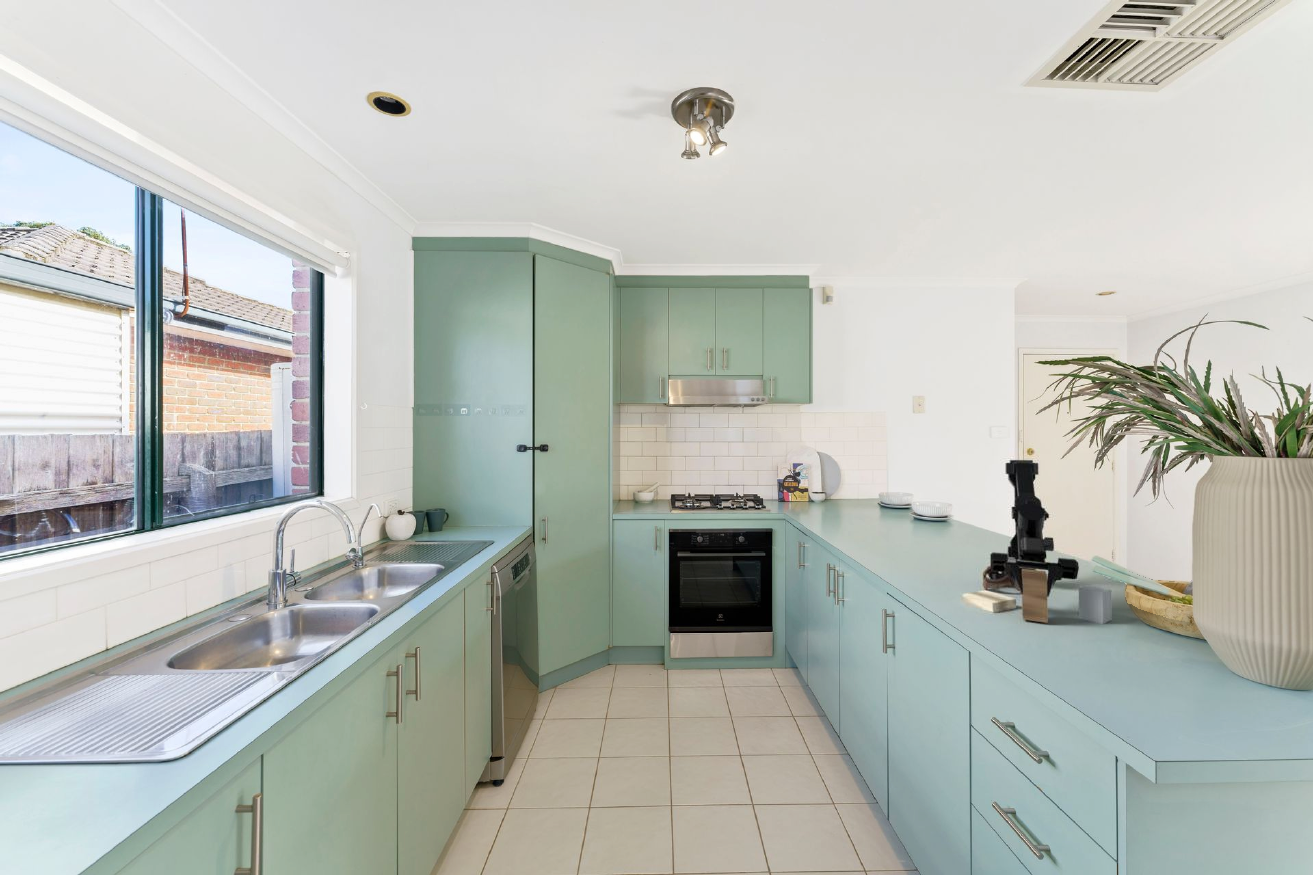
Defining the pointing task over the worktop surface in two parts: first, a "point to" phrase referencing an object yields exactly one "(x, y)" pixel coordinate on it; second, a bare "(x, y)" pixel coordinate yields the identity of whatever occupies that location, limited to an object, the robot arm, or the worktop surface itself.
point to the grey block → (1095, 603)
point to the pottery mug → (997, 579)
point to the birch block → (989, 601)
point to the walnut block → (1034, 595)
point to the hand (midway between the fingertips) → (1034, 594)
